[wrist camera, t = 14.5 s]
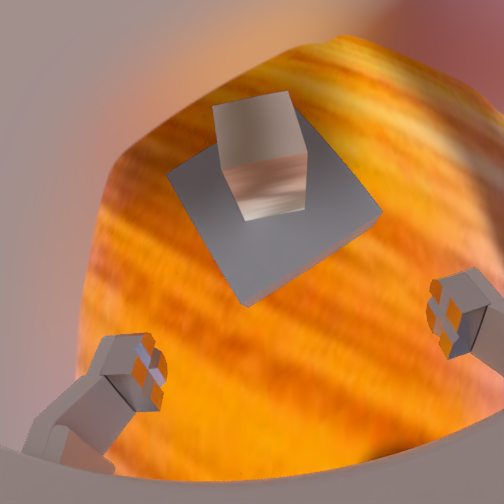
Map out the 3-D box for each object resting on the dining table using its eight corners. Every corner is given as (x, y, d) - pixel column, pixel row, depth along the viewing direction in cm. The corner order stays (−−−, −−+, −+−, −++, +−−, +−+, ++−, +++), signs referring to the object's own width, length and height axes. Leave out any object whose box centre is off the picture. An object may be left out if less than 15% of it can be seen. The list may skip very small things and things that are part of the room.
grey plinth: (291, 125, 33) (289, 102, 29) (372, 226, 29) (382, 211, 25) (179, 191, 32) (165, 174, 28) (248, 307, 29) (240, 304, 25)
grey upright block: (291, 158, 27) (287, 90, 18) (304, 209, 26) (307, 152, 17) (236, 169, 28) (212, 106, 19) (245, 221, 26) (221, 169, 18)
